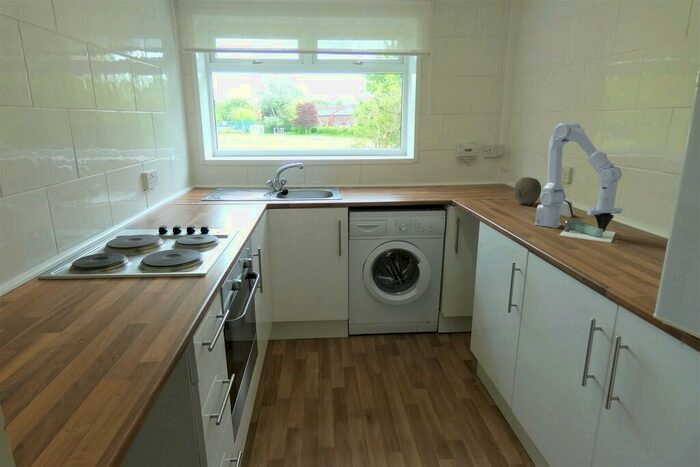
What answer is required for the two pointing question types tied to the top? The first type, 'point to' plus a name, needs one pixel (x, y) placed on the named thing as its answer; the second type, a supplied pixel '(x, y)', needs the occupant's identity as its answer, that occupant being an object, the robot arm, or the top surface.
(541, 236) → the top surface
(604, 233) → the plate
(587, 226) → the link
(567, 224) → the keeper
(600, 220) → the robot arm
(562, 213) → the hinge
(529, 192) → the cantaloupe
